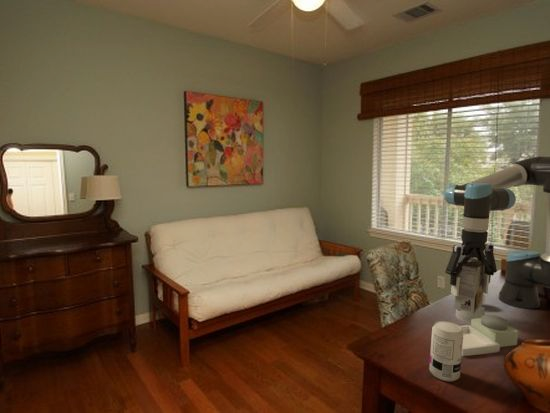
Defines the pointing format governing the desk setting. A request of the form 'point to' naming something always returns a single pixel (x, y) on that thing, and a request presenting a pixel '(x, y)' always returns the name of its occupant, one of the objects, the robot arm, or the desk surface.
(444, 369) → the supplement can
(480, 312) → the engine component
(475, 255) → the robot arm
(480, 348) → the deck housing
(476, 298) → the coffee box
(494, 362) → the desk surface
